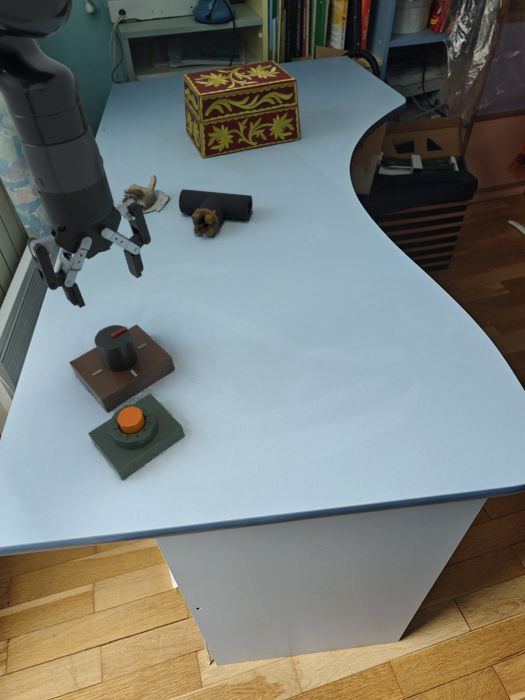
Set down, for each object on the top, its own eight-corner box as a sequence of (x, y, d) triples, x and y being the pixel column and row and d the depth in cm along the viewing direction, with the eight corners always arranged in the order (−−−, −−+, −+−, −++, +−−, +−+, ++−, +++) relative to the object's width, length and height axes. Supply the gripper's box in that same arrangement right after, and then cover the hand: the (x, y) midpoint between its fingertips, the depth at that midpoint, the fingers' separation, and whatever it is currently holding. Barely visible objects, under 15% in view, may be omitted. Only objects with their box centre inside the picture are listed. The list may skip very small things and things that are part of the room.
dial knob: (114, 377, 71) (104, 353, 67) (97, 358, 74) (87, 335, 70) (143, 359, 73) (135, 335, 69) (126, 342, 76) (117, 318, 72)
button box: (122, 480, 63) (114, 464, 60) (92, 442, 67) (83, 425, 64) (185, 435, 67) (180, 418, 64) (153, 402, 71) (147, 385, 68)
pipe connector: (237, 218, 95) (165, 211, 98) (238, 241, 99) (170, 233, 102) (251, 190, 103) (185, 184, 106) (253, 212, 107) (188, 206, 109)
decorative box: (276, 115, 143) (276, 57, 132) (301, 139, 131) (302, 79, 120) (185, 131, 137) (177, 73, 126) (202, 158, 125) (194, 96, 114)
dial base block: (107, 412, 70) (101, 399, 68) (75, 374, 76) (68, 361, 73) (175, 369, 76) (171, 356, 73) (140, 336, 81) (136, 323, 79)
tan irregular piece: (174, 198, 113) (170, 173, 110) (150, 218, 105) (145, 191, 101) (136, 195, 116) (131, 170, 112) (110, 214, 107) (103, 188, 104)
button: (128, 438, 63) (125, 430, 62) (116, 423, 65) (112, 415, 63) (149, 424, 64) (146, 416, 63) (136, 410, 66) (133, 402, 65)
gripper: (109, 142, 58) (139, 255, 70) (-9, 184, 51) (46, 300, 63) (143, 162, 54) (168, 278, 66) (20, 210, 48) (72, 329, 59)
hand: (108, 289), depth 64 cm, fingers open, 8 cm apart
